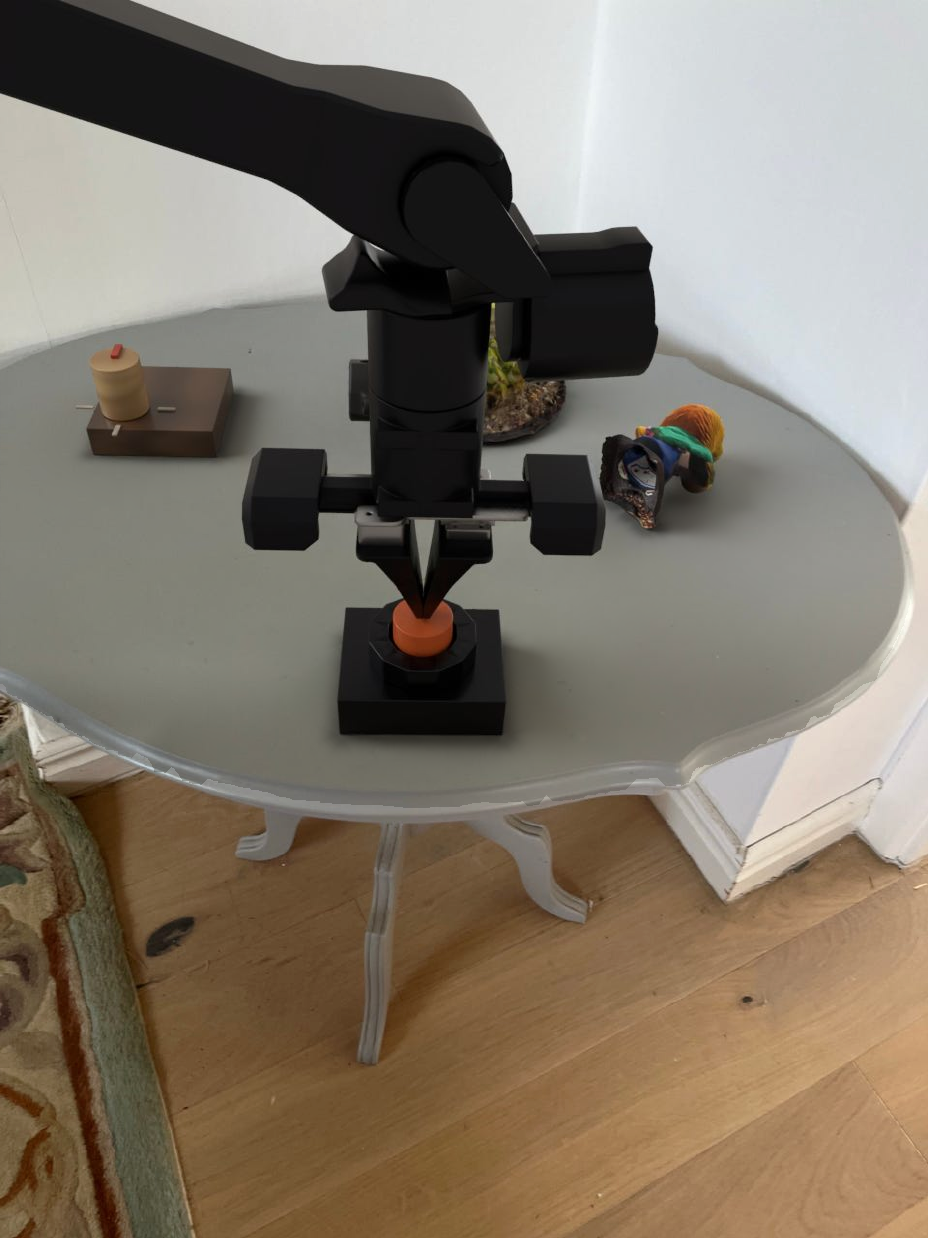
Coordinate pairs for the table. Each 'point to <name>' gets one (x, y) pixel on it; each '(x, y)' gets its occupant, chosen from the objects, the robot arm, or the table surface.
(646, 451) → the figurine
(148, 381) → the panel
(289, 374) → the table surface
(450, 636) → the button
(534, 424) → the cactus
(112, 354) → the knob
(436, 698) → the button box
